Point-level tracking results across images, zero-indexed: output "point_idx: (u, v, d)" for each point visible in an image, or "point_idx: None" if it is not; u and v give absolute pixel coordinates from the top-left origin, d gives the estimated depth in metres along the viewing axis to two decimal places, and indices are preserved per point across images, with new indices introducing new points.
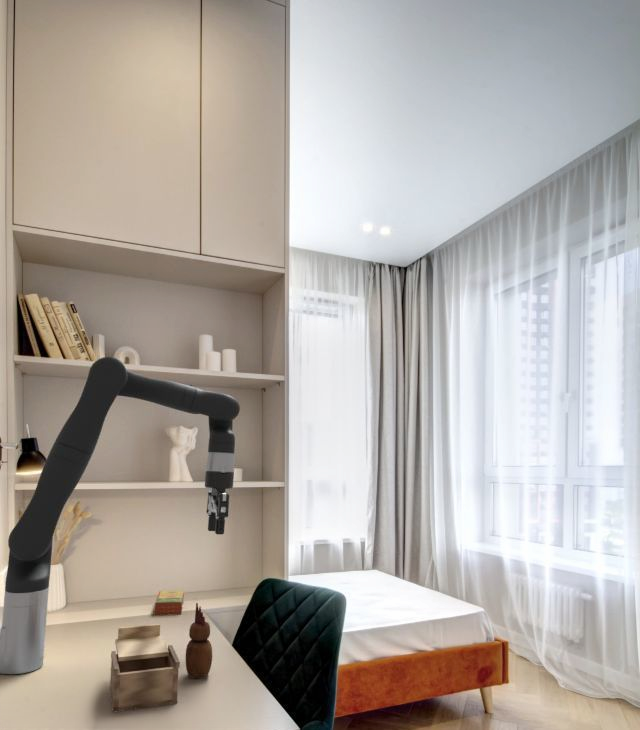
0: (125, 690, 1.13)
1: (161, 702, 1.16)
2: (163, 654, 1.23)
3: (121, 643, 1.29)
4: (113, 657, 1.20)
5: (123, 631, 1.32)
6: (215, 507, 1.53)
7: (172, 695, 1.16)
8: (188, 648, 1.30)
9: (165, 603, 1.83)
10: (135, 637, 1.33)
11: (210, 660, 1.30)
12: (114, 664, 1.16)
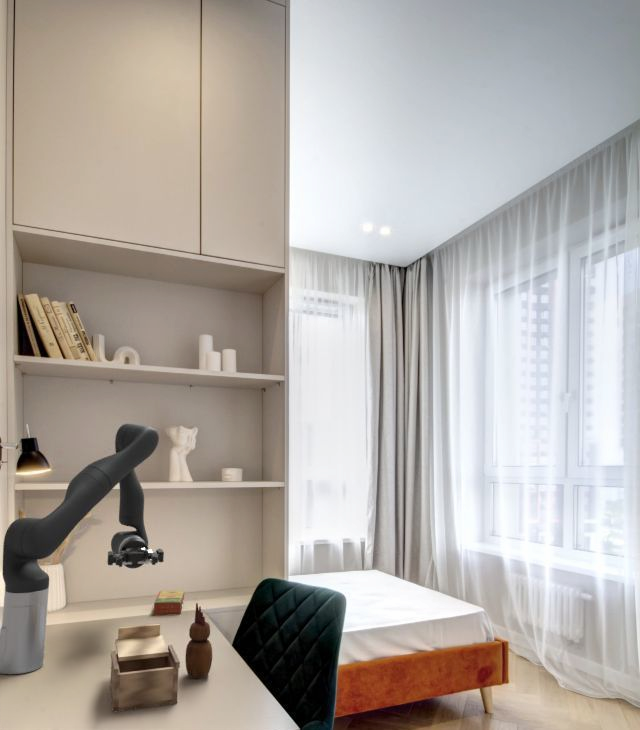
0: (125, 690, 1.13)
1: (161, 702, 1.16)
2: (163, 654, 1.23)
3: (121, 643, 1.29)
4: (113, 657, 1.20)
5: (123, 631, 1.32)
6: None
7: (172, 695, 1.16)
8: (188, 648, 1.30)
9: (164, 603, 1.83)
10: (135, 637, 1.33)
11: (210, 660, 1.30)
12: (114, 664, 1.16)
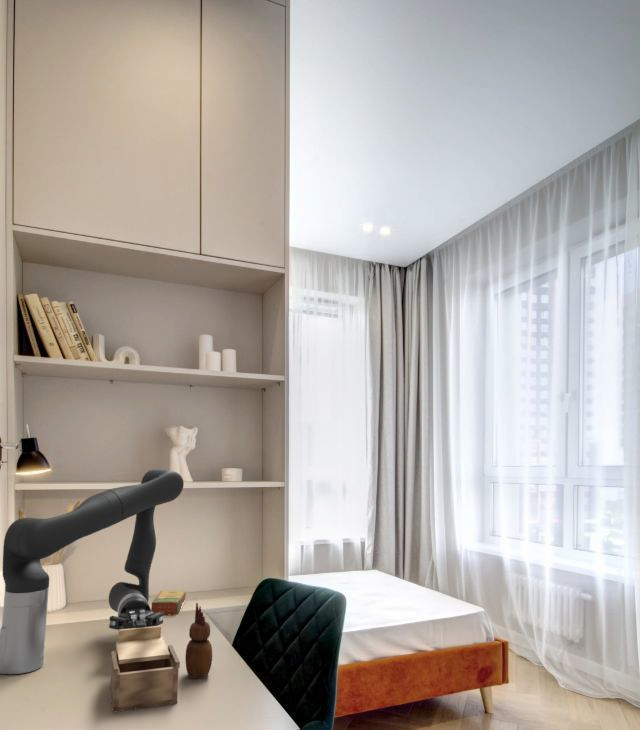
0: (125, 690, 1.13)
1: (161, 702, 1.16)
2: (164, 656, 1.22)
3: (121, 645, 1.28)
4: (113, 657, 1.20)
5: (123, 633, 1.31)
6: (145, 615, 1.40)
7: (172, 695, 1.16)
8: (188, 648, 1.30)
9: (161, 603, 1.83)
10: (136, 639, 1.31)
11: (210, 660, 1.30)
12: (114, 664, 1.16)
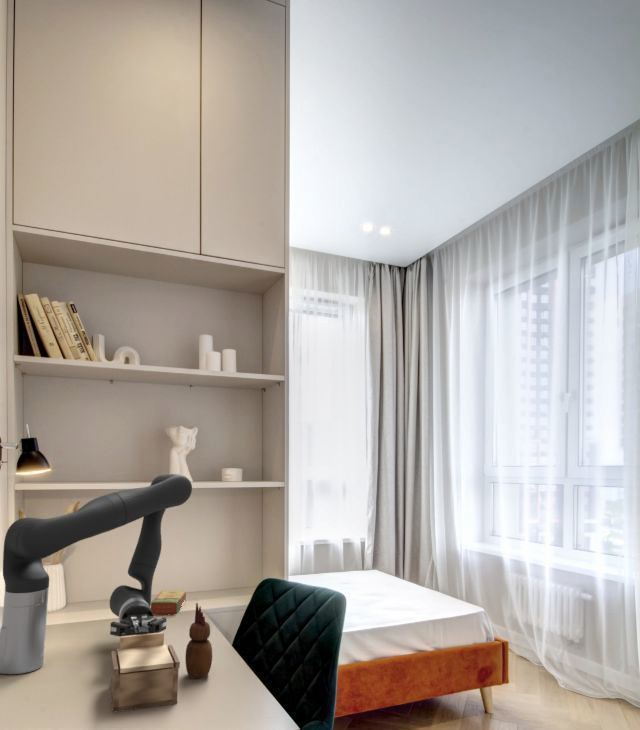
0: (125, 690, 1.13)
1: (161, 702, 1.16)
2: (167, 665, 1.17)
3: (122, 653, 1.23)
4: (113, 657, 1.20)
5: (125, 640, 1.26)
6: (147, 621, 1.35)
7: (172, 695, 1.16)
8: (188, 648, 1.30)
9: (161, 603, 1.83)
10: (138, 646, 1.26)
11: (210, 660, 1.30)
12: (114, 664, 1.16)
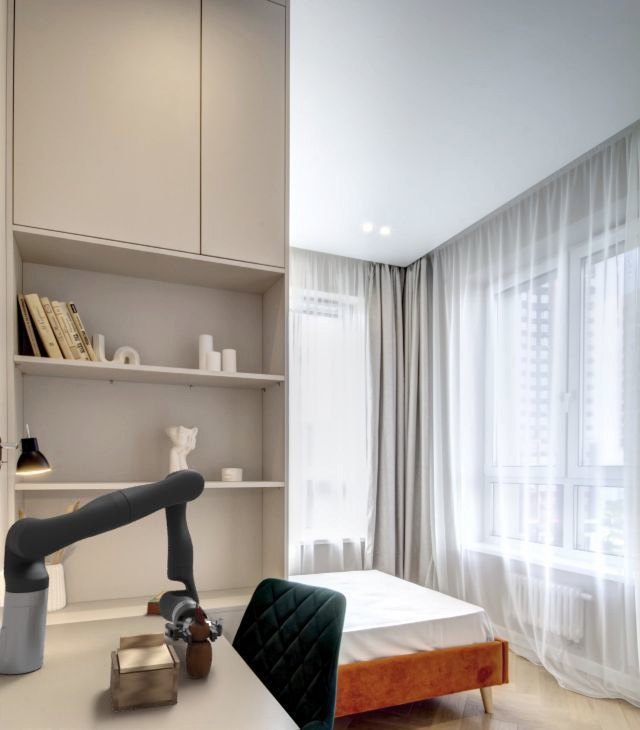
0: (125, 690, 1.13)
1: (161, 702, 1.16)
2: (167, 665, 1.17)
3: (122, 653, 1.23)
4: (113, 657, 1.20)
5: (125, 640, 1.26)
6: None
7: (172, 695, 1.16)
8: (188, 648, 1.30)
9: (157, 603, 1.83)
10: (138, 646, 1.26)
11: (210, 660, 1.30)
12: (114, 664, 1.16)
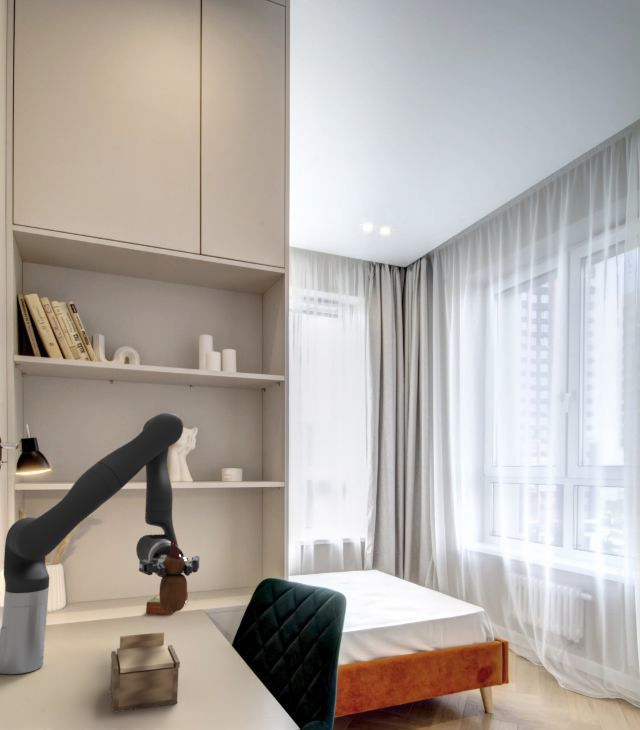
0: (125, 690, 1.13)
1: (161, 702, 1.16)
2: (167, 665, 1.17)
3: (122, 653, 1.23)
4: (113, 657, 1.20)
5: (125, 640, 1.26)
6: None
7: (172, 695, 1.16)
8: (162, 581, 1.27)
9: (156, 603, 1.83)
10: (138, 646, 1.26)
11: (184, 594, 1.27)
12: (114, 664, 1.16)
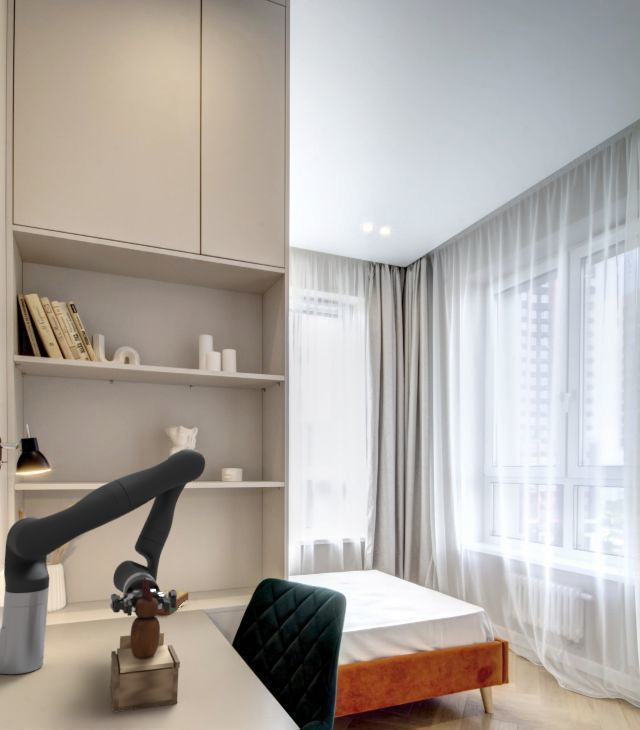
0: (125, 690, 1.13)
1: (161, 702, 1.16)
2: (167, 665, 1.17)
3: (122, 653, 1.23)
4: (113, 657, 1.20)
5: (125, 640, 1.26)
6: None
7: (172, 695, 1.16)
8: (133, 625, 1.20)
9: None
10: None
11: (157, 638, 1.20)
12: (114, 664, 1.16)
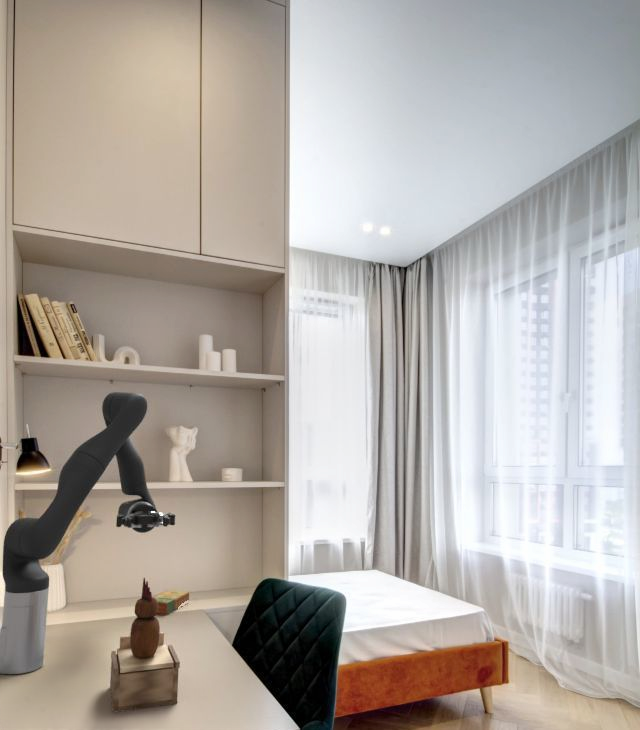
0: (125, 690, 1.13)
1: (161, 702, 1.16)
2: (167, 665, 1.17)
3: (122, 653, 1.23)
4: (113, 657, 1.20)
5: (125, 640, 1.26)
6: None
7: (172, 695, 1.16)
8: (133, 626, 1.20)
9: None
10: None
11: (156, 639, 1.20)
12: (114, 664, 1.16)
